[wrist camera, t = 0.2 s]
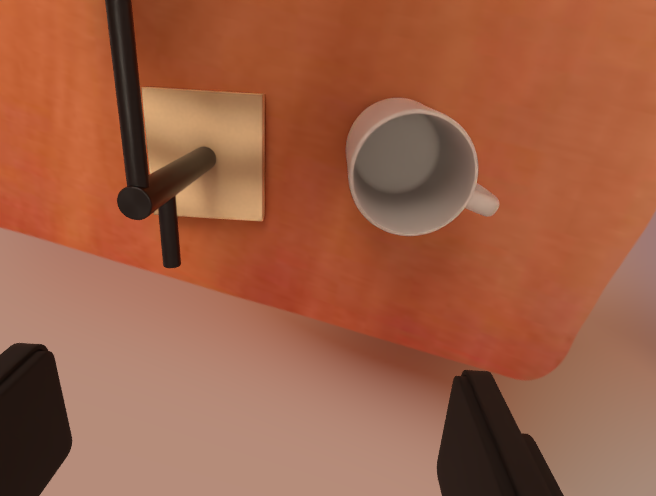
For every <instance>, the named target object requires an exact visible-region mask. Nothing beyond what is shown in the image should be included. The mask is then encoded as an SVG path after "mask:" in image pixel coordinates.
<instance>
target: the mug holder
mask: <svg viewBox="0 0 656 496" xmlns="http://www.w3.org/2000/svg"><path fill="white" fill-rule="evenodd" d="M105 4H106V12H107V21H108V29H109V37H110V46H111V54H112V63H113V71H114V79H115V88H116V96H117V105H118V113H119V122H120V130H121V138H122V147H123V155H124V164H125V172H126V180H127V187H125V188H124V189H122V190H121V191H120V192H119V194H118V198H117V203H118V207H119V209H120V211H121V212H122V213H123V214H124V215H125V216H126V217H128V218H130V219H134V220H142V219H145V218H146V217H148V216H149V215H150V214H152V213H153V212H154V215H159V224H160V234H161V245H162V256H163V265H164V267H166V268H176V267H179V266H180V265H181V258H180V245H179V232H178V219H177V216H184V217H200V218H216V219H232V220H248V221H263V219H264V217H265V94H259V93H243V92H227V91H210V90H194V89H178V88H161V87H142V98H143V109H144V119H145V129H146V139H147V149H148V160H149V170H150V174H148V164H147V154H146V144H145V133H144V123H143V113H142V103H141V93H140V83H139V73H138V63H137V53H136V42H135V32H134V22H133V12H132V2H131V0H105Z"/></svg>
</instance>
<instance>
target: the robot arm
mask: <svg viewBox="0 0 656 496" xmlns="http://www.w3.org/2000/svg"><path fill="white" fill-rule="evenodd" d="M71 446H72V436H71V431H70V427H69V422H68V418H67V413H66V408H65V404H64V399H63V395H62V390H61V386H60V381H59V376H58V372H57V367H56V362H55V358H54V355H53V353H52V352H50V351H48V349H47V348H46V346H44V345H42V344H26V343H16V344H13V345H12V346H10V347H9V348H8V349H7V350H5V351H4V352H3V353H2V354H1V355H0V496H39V495H40V494H41V492H42V491H43V490H44V488H45V487H46V485H47V484H48V483H49V481H50V480H51V478H52V477H53V476H54V474H55V473H56V471H57V470H58V469H59V467H60V466H61V464H62V463H63V461H64V460H65V459H66V457H67V456H68V454H69V452H70V449H71ZM437 475H438V480H439V485H440V489H441V493H442V496H564V495H563V494H562V492H561V490H560V488H559V486H558V484H557V482H556V480H555V479H554V476H553V475H552V473H551V471H550V469H549V467H548V465H547V463H546V461H545V459H544V457H543V455H542V454H541V452H540V450H539V448H538V446H537V444H536V442H535V441H534V439H533V438H532V437H531V436H530V435H528V434H521V432H520V430H519V428H518V426H517V424H516V422H515V420H514V418H513V416H512V414H511V412H510V410H509V408H508V406H507V404H506V402H505V400H504V398H503V396H502V394H501V392H500V390H499V388H498V386H497V384H496V382H495V380H494V378H493V376H492V374H491V373H490V372H488V371H472V370H464V371H463V373H462V375H461V376H455V377H454V380H453V384H452V389H451V394H450V400H449V404H448V409H447V415H446V420H445V425H444V430H443V435H442V440H441V445H440V450H439V455H438V461H437Z"/></svg>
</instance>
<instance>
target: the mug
mask: <svg viewBox="0 0 656 496" xmlns="http://www.w3.org/2000/svg"><path fill="white" fill-rule="evenodd" d="M346 159H347V168H348V180H349V188H350V191H351V195H352V198H353V200H354V202H355V204H356V206H357V208H358V209H359V211H360V212H361V213H362V215H363V216H364V217H365V218H366V219H367V220H368V221H369V222H370V223H372V224H373V225H375V226H376V227H378V228H380V229H381V230H383V231H386V232H389V233H392V234H396V235H402V236H417V235H424V234H428V233H431V232H434V231H436V230H438V229H440V228H442V227H444V226H446V225H447V224H449V223H450V222H452V221H453V220H454V219H455V218H456V217H457V216H458V215H459V214H460V213H461V212H462V211H463V210H464V208H466V209H469V210H471V211H473V212H475V213H478V214H480V215H483V216H492V215H493V214H495V212H496V211H497V210H498V207H499V200H498V198H497V197H496V196H495V195H493V194H492V193H491V192H490V191H488V190H487V189H485V188H484V187H482V186H481V185H479V184H477V178H478V159H477V153H476V150H475V147H474V145H473V142H472V140H471V138H470V137H469V135H468V134H467V132H466V131H465V130H464V129H463V128H462V127H461V125H460V124H458V123H457V122H456V121H455V120H454V119H452V118H450V117H449V116H447V115H445V114H443V113H441V112H439V111H436V110H434V109H431V108H429V107H427V106H425V105H423V104H421V103H419V102H417V101H414V100H411V99H407V98H389V99H384V100H381V101H379V102H376V103H374V104H372V105H371V106H369V107H368V108H366V109H365V110H364V111H363V112H362V113H361V114H360V115H359V116H358V117H357V119H356V120H355V121H354V123H353V125H352V127H351V129H350V131H349V134H348V137H347V141H346Z"/></svg>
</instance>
